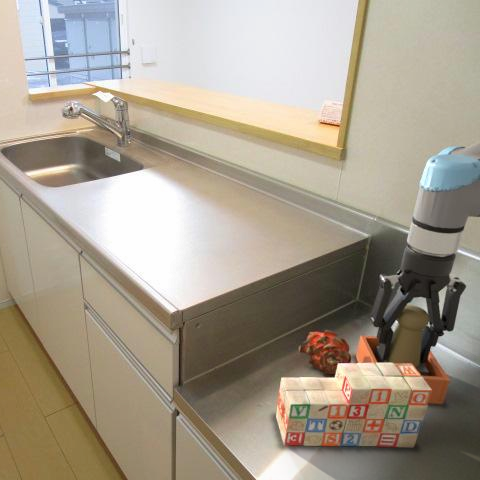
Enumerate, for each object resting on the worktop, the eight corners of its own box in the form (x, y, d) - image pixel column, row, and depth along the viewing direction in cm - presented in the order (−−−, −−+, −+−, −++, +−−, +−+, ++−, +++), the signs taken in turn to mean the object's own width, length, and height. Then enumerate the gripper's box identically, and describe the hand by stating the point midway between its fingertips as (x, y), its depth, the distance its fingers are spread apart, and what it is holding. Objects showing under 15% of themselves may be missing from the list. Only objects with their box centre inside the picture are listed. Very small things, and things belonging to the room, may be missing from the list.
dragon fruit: (337, 395, 86) (305, 363, 97) (371, 367, 86) (335, 338, 97) (315, 368, 83) (285, 337, 95) (350, 338, 83) (316, 311, 94)
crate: (416, 361, 93) (422, 338, 90) (442, 404, 82) (450, 380, 79) (355, 357, 94) (360, 335, 92) (373, 399, 83) (379, 375, 81)
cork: (418, 373, 82) (432, 322, 77) (382, 361, 85) (394, 312, 80) (420, 354, 87) (434, 306, 82) (386, 344, 90) (398, 297, 85)
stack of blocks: (283, 447, 74) (291, 389, 69) (275, 417, 79) (282, 362, 74) (415, 447, 73) (433, 389, 68) (397, 417, 79) (413, 362, 74)
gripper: (480, 241, 78) (446, 348, 88) (364, 236, 81) (343, 341, 90) (505, 260, 72) (465, 374, 81) (378, 255, 74) (354, 366, 83)
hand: (401, 356), depth 86 cm, fingers open, 6 cm apart
